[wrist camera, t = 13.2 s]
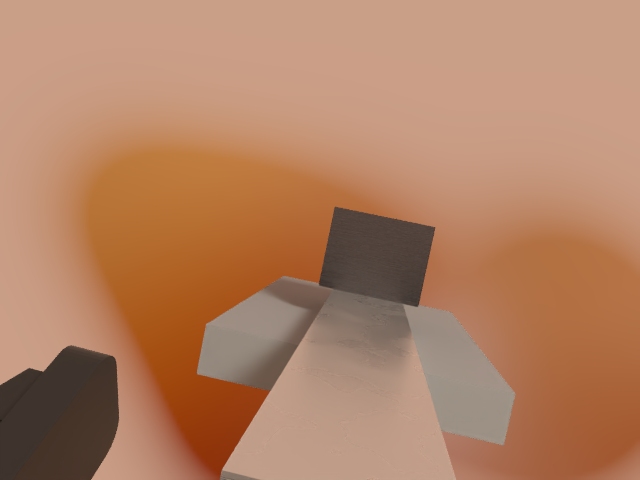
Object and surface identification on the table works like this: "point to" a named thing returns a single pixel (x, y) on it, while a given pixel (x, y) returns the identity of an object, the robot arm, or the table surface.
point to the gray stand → (428, 333)
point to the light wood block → (354, 371)
